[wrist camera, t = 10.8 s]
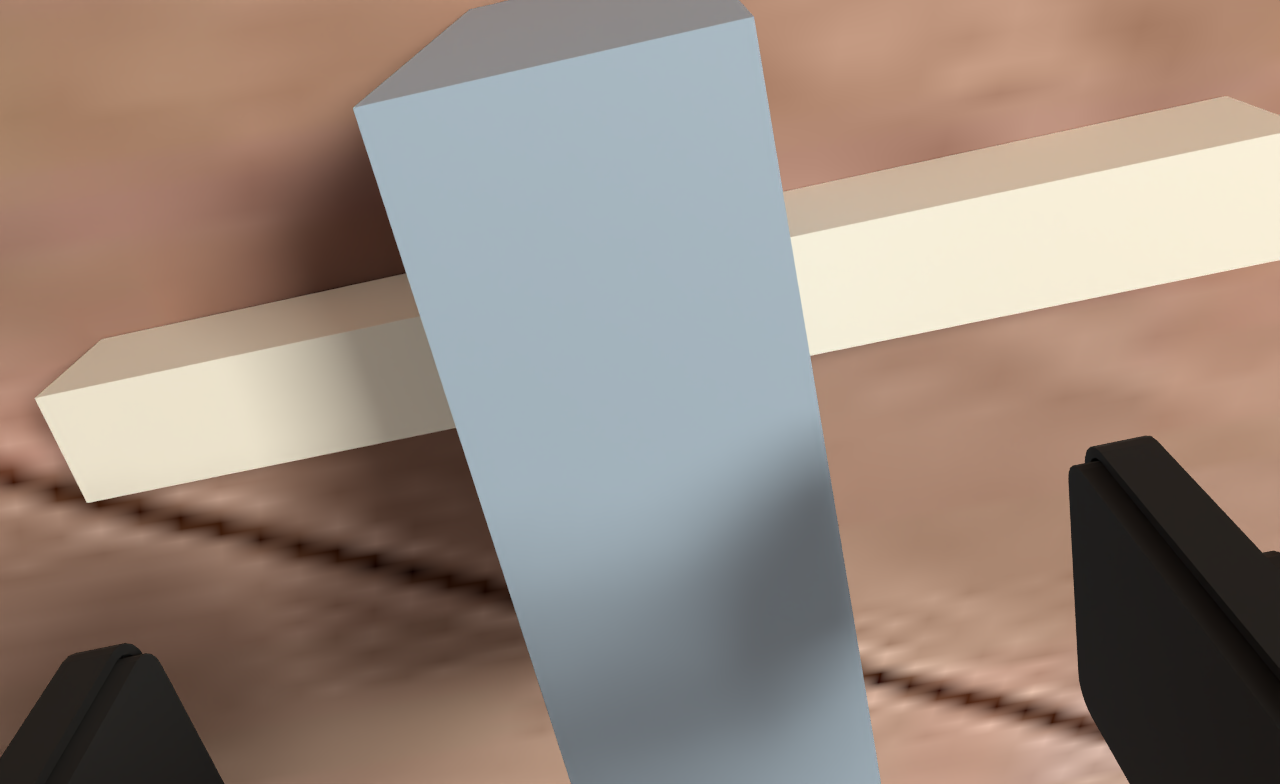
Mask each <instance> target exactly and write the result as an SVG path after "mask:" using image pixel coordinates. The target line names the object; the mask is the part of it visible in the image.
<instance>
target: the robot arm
mask: <svg viewBox="0 0 1280 784" xmlns="http://www.w3.org/2000/svg"><path fill="white" fill-rule="evenodd" d="M1069 499H1070V519H1071V538H1072V558H1073V577H1074V596H1075V616H1076V635H1077V654H1078V674H1079V682H1080V686H1081V691H1082V694H1083V697H1084V700H1085V703H1086V706H1087V708H1088V710H1089V712H1090V714H1091V716H1092V718H1093V720H1094V722H1095V723H1096V725H1097V727H1098V729H1099V730H1100V732H1101V734H1102V736H1103V737H1104V739H1105V741H1106V743H1107V744H1108V746H1109V748H1110V750H1111V752H1112V753H1113V755H1114V757H1115V759H1116V760H1117V762H1118V764H1119V766H1120V767H1121V769H1122V771H1123V773H1124V774H1125V776H1126V778H1127V780H1128V782H1129V783H1130V784H1280V552H1276V551H1269V552H1264V553H1262V552H1261V551H1260V550H1259V549H1258V548H1257V547H1256V546H1255V544H1254V543H1253V542H1252V541H1251V540H1250V539H1249V538H1248V537H1247V536H1246V535H1245V534H1244V533H1243V532H1242V531H1241V530H1240V528H1239V527H1238V526H1237V525H1236V524H1235V523H1234V522H1233V521H1232V520H1231V519H1230V518H1229V517H1228V516H1227V515H1226V514H1225V512H1224V511H1223V510H1222V509H1221V508H1220V507H1219V506H1218V505H1217V504H1216V503H1215V502H1214V501H1213V500H1212V499H1211V498H1210V497H1209V495H1208V494H1207V493H1206V492H1205V491H1204V490H1203V489H1202V488H1201V487H1200V486H1199V485H1198V484H1197V483H1196V482H1195V481H1194V479H1193V478H1192V477H1191V476H1190V475H1189V474H1188V473H1187V472H1186V471H1185V470H1184V469H1183V468H1182V467H1181V466H1180V465H1179V463H1178V462H1177V461H1176V460H1175V459H1174V458H1173V457H1172V456H1171V455H1170V454H1169V453H1168V452H1167V451H1166V450H1165V449H1164V447H1163V446H1162V445H1161V444H1160V443H1159V442H1158V441H1157V440H1155V439H1154V438H1153V437H1152V436H1142V437H1137V438H1132V439H1127V440H1122V441H1117V442H1112V443H1107V444H1102V445H1097V446H1093V447H1090V448H1089V449H1088V450H1087V452H1086V456H1085V463H1084V464H1079V465H1074V466H1072V467H1071V468H1070V471H1069ZM0 784H224V782H223V780H222V779H221V777H220V775H219V773H218V771H217V769H216V767H215V765H214V763H213V762H212V760H211V758H210V756H209V754H208V752H207V750H206V748H205V746H204V745H203V743H202V741H201V739H200V737H199V735H198V733H197V731H196V729H195V728H194V726H193V724H192V722H191V720H190V718H189V716H188V714H187V712H186V711H185V709H184V707H183V705H182V703H181V701H180V699H179V697H178V695H177V694H176V692H175V690H174V688H173V686H172V684H171V682H170V680H169V678H168V677H167V675H166V673H165V671H164V669H163V667H162V665H161V664H160V662H159V661H158V659H157V658H156V657H155V656H153V655H152V654H147V653H145V654H142V652H141V651H140V650H139V649H138V648H137V647H135V646H134V645H133V644H127V643H124V644H119V645H114V646H109V647H104V648H99V649H94V650H89V651H84V652H79V653H75V654H73V655H70V656H68V658H67V659H66V660H65V661H64V662H63V663H62V664H61V666H60V667H59V669H58V670H57V672H56V674H55V675H54V677H53V678H52V680H51V681H50V683H49V684H48V686H47V687H46V689H45V690H44V692H43V694H42V695H41V697H40V698H39V700H38V701H37V703H36V704H35V706H34V707H33V709H32V710H31V712H30V713H29V715H28V717H27V718H26V720H25V721H24V723H23V724H22V726H21V727H20V729H19V730H18V732H17V733H16V735H15V736H14V738H13V740H12V741H11V743H10V744H9V746H8V747H7V749H6V750H5V752H4V753H3V755H2V756H1V758H0Z"/></svg>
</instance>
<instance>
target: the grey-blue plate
mask: <svg viewBox="0 0 1280 784" xmlns="http://www.w3.org/2000/svg"><path fill="white" fill-rule="evenodd" d="M353 110H354V113H355V116H356V119H357V122H358V125H359V129H360V132H361V135H362V138H363V141H364V144H365V147H366V150H367V153H368V156H369V159H370V163H371V166H372V169H373V172H374V175H375V178H376V181H377V184H378V187H379V190H380V194H381V197H382V200H383V203H384V206H385V209H386V212H387V215H388V218H389V221H390V224H391V228H392V231H393V234H394V237H395V240H396V243H397V246H398V249H399V252H400V255H401V259H402V262H403V265H404V268H405V271H406V274H407V277H408V280H409V283H410V286H411V289H412V293H413V296H414V299H415V302H416V305H417V308H418V311H419V314H420V317H421V320H422V324H423V327H424V330H425V333H426V336H427V339H428V342H429V345H430V348H431V351H432V354H433V358H434V361H435V364H436V367H437V370H438V373H439V376H440V379H441V382H442V385H443V389H444V392H445V395H446V398H447V401H448V404H449V407H450V410H451V413H452V416H453V420H454V423H455V426H456V429H457V432H458V435H459V438H460V441H461V444H462V447H463V450H464V454H465V457H466V460H467V463H468V466H469V469H470V472H471V475H472V478H473V481H474V485H475V488H476V491H477V494H478V497H479V500H480V503H481V506H482V509H483V512H484V515H485V519H486V522H487V525H488V528H489V531H490V534H491V537H492V540H493V543H494V546H495V550H496V553H497V556H498V559H499V562H500V565H501V568H502V571H503V574H504V577H505V580H506V584H507V587H508V590H509V593H510V596H511V599H512V602H513V605H514V608H515V611H516V615H517V618H518V621H519V624H520V627H521V630H522V633H523V636H524V639H525V642H526V645H527V649H528V652H529V655H530V658H531V661H532V664H533V667H534V670H535V673H536V676H537V680H538V683H539V686H540V689H541V692H542V695H543V698H544V701H545V704H546V707H547V711H548V714H549V717H550V720H551V723H552V726H553V729H554V732H555V735H556V738H557V741H558V745H559V748H560V751H561V754H562V757H563V760H564V763H565V766H566V769H567V772H568V776H569V779H570V782H571V784H881V781H880V775H879V769H878V763H877V757H876V751H875V745H874V739H873V733H872V726H871V720H870V714H869V708H868V702H867V696H866V690H865V684H864V678H863V672H862V666H861V660H860V654H859V648H858V642H857V636H856V630H855V624H854V618H853V612H852V606H851V600H850V594H849V588H848V582H847V576H846V570H845V564H844V558H843V552H842V546H841V540H840V534H839V528H838V521H837V515H836V509H835V503H834V497H833V491H832V485H831V479H830V473H829V467H828V461H827V455H826V449H825V443H824V437H823V431H822V425H821V419H820V413H819V407H818V401H817V395H816V389H815V383H814V377H813V371H812V365H811V359H810V353H809V347H808V341H807V335H806V329H805V323H804V317H803V310H802V304H801V298H800V292H799V286H798V280H797V274H796V268H795V262H794V256H793V250H792V244H791V238H790V232H789V226H788V220H787V214H786V208H785V202H784V196H783V190H782V184H781V178H780V172H779V166H778V160H777V154H776V148H775V142H774V136H773V130H772V124H771V118H770V112H769V105H768V99H767V93H766V87H765V81H764V75H763V69H762V63H761V57H760V51H759V45H758V39H757V33H756V27H755V21H754V16H753V15H752V14H751V13H750V12H749V11H748V10H747V9H746V7H745V6H744V5H743V4H742V3H741V2H740V1H739V0H508V1H504V2H500V3H496V4H491V5H487V6H483V7H478V8H474V9H470V10H469V11H467V12H466V13H465V14H464V15H463V16H461V17H460V18H459V19H458V20H457V21H455V22H454V23H453V24H452V25H451V26H450V27H448V28H447V29H446V30H445V31H444V32H442V33H441V34H440V35H439V36H438V37H436V38H435V39H434V40H433V41H432V42H431V43H429V44H428V45H427V46H426V47H425V48H423V49H422V50H421V51H420V52H419V53H417V54H416V55H415V56H414V57H413V58H411V59H410V60H409V61H408V62H407V63H406V64H404V65H403V66H402V67H401V68H400V69H398V70H397V71H396V72H395V73H394V74H392V75H391V76H390V77H389V78H388V79H387V80H385V81H384V82H383V83H382V84H381V85H379V86H378V87H377V88H376V89H375V90H373V91H372V92H371V93H370V94H369V95H368V96H366V97H365V98H364V99H363V100H362V101H360V102H359V103H358V104H357V105H356V106H354V107H353Z"/></svg>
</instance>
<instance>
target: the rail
mask: <svg viewBox="0 0 1280 784" xmlns="http://www.w3.org/2000/svg"><path fill="white" fill-rule="evenodd" d="M783 196H784V202H785V208H786V214H787V220H788V226H789V232H790V238H791V244H792V250H793V256H794V262H795V268H796V274H797V280H798V286H799V292H800V298H801V304H802V310H803V317H804V323H805V329H806V335H807V341H808V347H809V353H810V356H811V355H816V354H821V353H826V352H831V351H835V350H840V349H845V348H850V347H855V346H860V345H865V344H870V343H875V342H880V341H885V340H889V339H894V338H899V337H904V336H909V335H914V334H919V333H924V332H929V331H934V330H939V329H943V328H948V327H953V326H958V325H963V324H968V323H973V322H978V321H983V320H988V319H992V318H997V317H1002V316H1007V315H1012V314H1017V313H1022V312H1027V311H1032V310H1037V309H1042V308H1046V307H1051V306H1056V305H1061V304H1066V303H1071V302H1076V301H1081V300H1086V299H1091V298H1095V297H1100V296H1105V295H1110V294H1115V293H1120V292H1125V291H1130V290H1135V289H1140V288H1145V287H1149V286H1154V285H1159V284H1164V283H1169V282H1174V281H1179V280H1184V279H1189V278H1194V277H1199V276H1203V275H1208V274H1213V273H1218V272H1223V271H1228V270H1233V269H1238V268H1243V267H1248V266H1252V265H1257V264H1262V263H1267V262H1272V261H1277V260H1280V115H1277V114H1275V113H1272V112H1269V111H1266V110H1264V109H1261V108H1258V107H1255V106H1253V105H1250V104H1247V103H1244V102H1242V101H1239V100H1236V99H1233V98H1231V97H1228V96H1224V97H1219V98H1214V99H1210V100H1205V101H1201V102H1196V103H1191V104H1187V105H1182V106H1178V107H1173V108H1168V109H1164V110H1159V111H1154V112H1150V113H1145V114H1141V115H1136V116H1131V117H1127V118H1122V119H1117V120H1113V121H1108V122H1104V123H1099V124H1094V125H1090V126H1085V127H1080V128H1076V129H1071V130H1067V131H1062V132H1057V133H1053V134H1048V135H1043V136H1039V137H1034V138H1030V139H1025V140H1020V141H1016V142H1011V143H1007V144H1002V145H997V146H993V147H988V148H983V149H979V150H974V151H970V152H965V153H960V154H956V155H951V156H946V157H942V158H937V159H933V160H928V161H923V162H919V163H914V164H909V165H905V166H900V167H896V168H891V169H886V170H882V171H877V172H872V173H868V174H863V175H859V176H854V177H849V178H845V179H840V180H836V181H831V182H826V183H822V184H817V185H812V186H808V187H803V188H799V189H794V190H789V191H785V192H783ZM35 400H36V402H37V404H38V406H39V408H40V410H41V412H42V414H43V416H44V418H45V420H46V422H47V424H48V426H49V428H50V430H51V432H52V434H53V436H54V438H55V440H56V442H57V444H58V446H59V448H60V450H61V452H62V454H63V456H64V458H65V460H66V462H67V464H68V466H69V468H70V470H71V472H72V474H73V476H74V478H75V480H76V482H77V484H78V486H79V488H80V490H81V492H82V494H83V496H84V498H85V500H86V502H87V503H90V502H95V501H100V500H104V499H109V498H114V497H119V496H124V495H129V494H134V493H139V492H144V491H149V490H154V489H158V488H163V487H168V486H173V485H178V484H183V483H188V482H193V481H198V480H203V479H208V478H212V477H217V476H222V475H227V474H232V473H237V472H242V471H247V470H252V469H257V468H261V467H266V466H271V465H276V464H281V463H286V462H291V461H296V460H301V459H306V458H311V457H315V456H320V455H325V454H330V453H335V452H340V451H345V450H350V449H355V448H360V447H365V446H369V445H374V444H379V443H384V442H389V441H394V440H399V439H404V438H409V437H414V436H418V435H423V434H428V433H433V432H438V431H443V430H448V429H453V428H456V426H455V423H454V420H453V416H452V413H451V410H450V407H449V404H448V401H447V398H446V395H445V392H444V389H443V385H442V382H441V379H440V376H439V373H438V370H437V367H436V364H435V361H434V358H433V354H432V351H431V348H430V345H429V342H428V339H427V336H426V333H425V330H424V327H423V324H422V320H421V317H420V314H419V311H418V308H417V305H416V302H415V299H414V296H413V293H412V289H411V286H410V283H409V280H408V277H407V274H401V275H396V276H392V277H387V278H383V279H378V280H373V281H369V282H364V283H359V284H355V285H350V286H346V287H341V288H336V289H332V290H327V291H322V292H318V293H313V294H309V295H304V296H299V297H295V298H290V299H286V300H281V301H276V302H272V303H267V304H262V305H258V306H253V307H249V308H244V309H239V310H235V311H230V312H225V313H221V314H216V315H212V316H207V317H202V318H198V319H193V320H188V321H184V322H179V323H175V324H170V325H165V326H161V327H156V328H151V329H147V330H142V331H138V332H133V333H128V334H124V335H119V336H115V337H110V338H105V339H101V340H100V341H99V342H98V343H97V344H96V345H95V346H93V347H92V348H91V349H90V350H89V351H88V352H87V353H85V354H84V355H83V356H82V357H81V358H80V359H79V360H77V361H76V362H75V363H74V364H73V365H72V366H71V367H70V368H68V369H67V370H66V371H65V372H64V373H63V374H62V375H60V376H59V377H58V378H57V379H56V380H55V381H54V382H53V383H51V384H50V385H49V386H48V387H47V388H46V389H45V390H43V391H42V392H41V393H40V394H39V395H38V396H37V397H35Z"/></svg>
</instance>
